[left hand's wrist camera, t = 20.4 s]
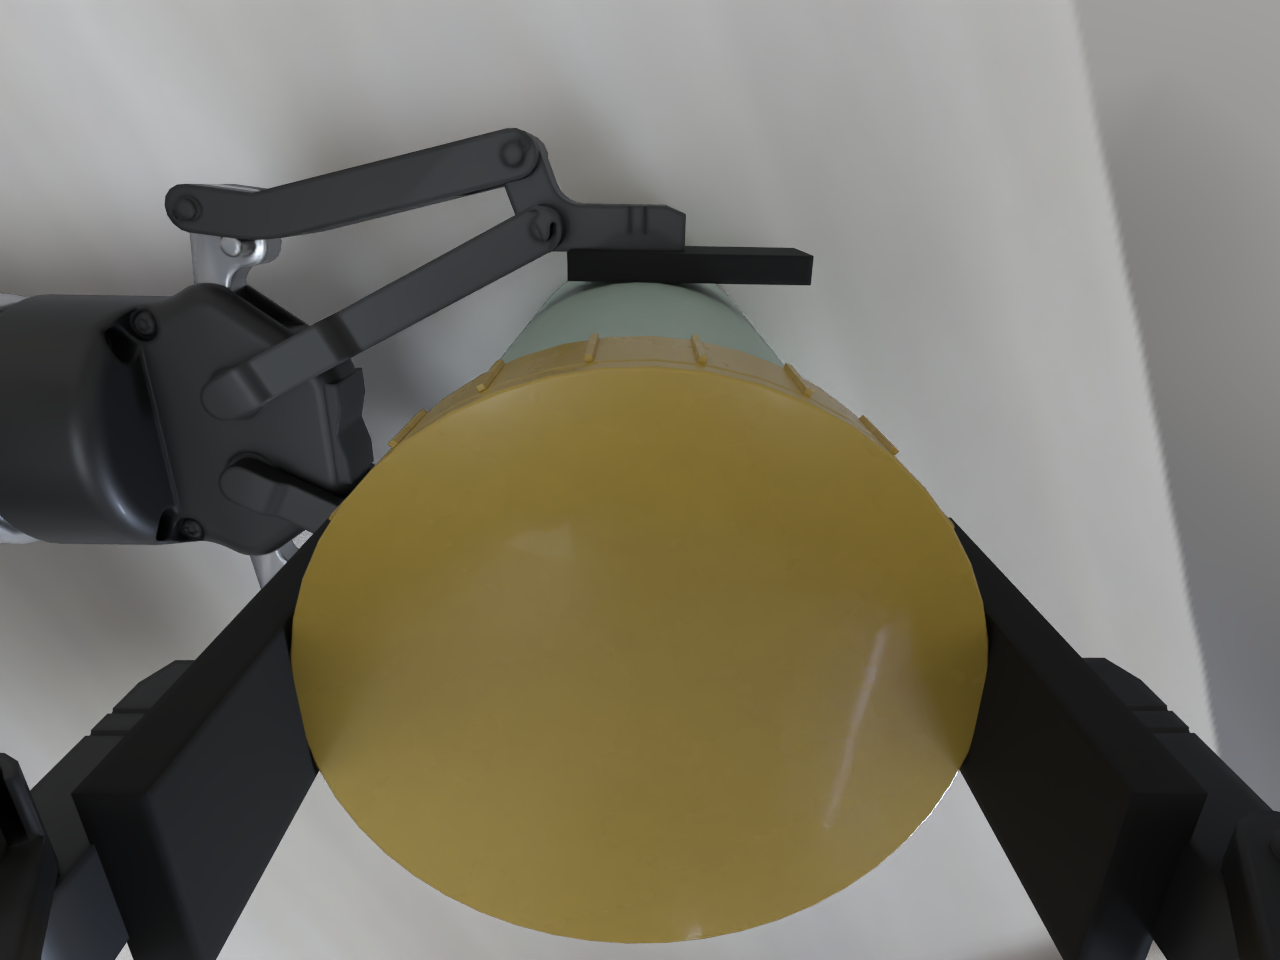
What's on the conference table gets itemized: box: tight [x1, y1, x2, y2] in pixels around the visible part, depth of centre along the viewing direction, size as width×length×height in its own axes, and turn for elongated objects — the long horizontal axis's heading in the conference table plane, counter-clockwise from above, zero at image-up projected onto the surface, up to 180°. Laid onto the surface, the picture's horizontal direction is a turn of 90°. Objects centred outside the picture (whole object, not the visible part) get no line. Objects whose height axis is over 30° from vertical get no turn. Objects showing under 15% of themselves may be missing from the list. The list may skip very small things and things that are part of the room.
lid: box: [290, 333, 988, 943], centre depth 11 cm, size 10×10×2 cm
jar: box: [501, 281, 784, 367], centre depth 20 cm, size 9×9×18 cm
